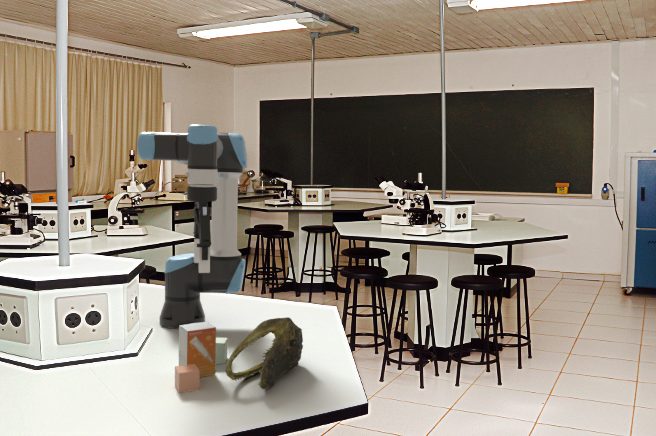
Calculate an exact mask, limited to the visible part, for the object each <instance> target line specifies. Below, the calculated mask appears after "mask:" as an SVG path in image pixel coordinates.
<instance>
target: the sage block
mask: <svg viewBox="0 0 656 436" xmlns="http://www.w3.org/2000/svg"><path fill="white" fill-rule="evenodd" d="M227 360H228V337H218V336H216V360H215V365H225V364H226V361H227Z"/></svg>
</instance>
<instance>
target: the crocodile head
mask: <svg viewBox="0 0 656 436" xmlns="http://www.w3.org/2000/svg"><path fill="white" fill-rule="evenodd" d="M270 333H271V334H273V335H274V338H273V339H272V340H271V346H270V347H268V349H266V350H265V351H266V352H264V353H263V356H261V357H262V358H263V359H261V362H259V363H258V364H256V365H253V366H252V367H251V368H249V369H246V370H244V371H239V372H234V371H233V369H232V368H233V367H232V366H233V362H234V361H235V359H236V358H238V356H239V355H240V354H241V353H242V352H243V351H244V350H245V349H246V348H247V347H249V346H250V345H252V344H254V343H255V342H256V341H257V340H259V339H262V338H264V337H266V336H267V335H269V334H270ZM303 342H304V339H303V329H302V328H300V327H299V326H298V325H296V324H295V322H294V321H293V320H292V318H291V317H276V318H275V317H274V318H269V319H266V320H264V321H261V323H259V324H258V325H257V326H256V327H255V328H254V329H253V330H252V331H251V332H249V333H248V334H247V335H246V336H245V337H244V338H243V339H242V340H241V341H240V343H239V344H238V345H237V346H236V347H235V349H234V350H233V351H232V353H231V354H230V356H229V358H228V359H227V363H226V366H225V374H226V376H227V377H228V378H230V380H232V381H235V382H237V380H241V379H245V378H249V377H251V376H255V375H256V374H258V373H260V376H259V382H258V383H257V385H258V386H259V387H260V388H261V389H263V390H268V389H270V388H271V387H273V385H275V383H276V382H277V380H278V379H279V378H280V377H281V376H283V374H285V373H287V372H289V371H290V370H291V368H292V369H293V368H296V367H298V365H299V362H300V361H301V359H302V351H303V348H304V345H303Z"/></svg>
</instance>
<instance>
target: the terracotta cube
mask: <svg viewBox="0 0 656 436" xmlns="http://www.w3.org/2000/svg"><path fill="white" fill-rule="evenodd" d="M174 387H175V389H176V390H177V392H178V393H186V392H193V391H198V390H199V391H200V377H199V369H198V368H197V366H196V365H195V364H190V365H182V366H179V365H176V366H174Z"/></svg>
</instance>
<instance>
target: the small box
mask: <svg viewBox="0 0 656 436" xmlns="http://www.w3.org/2000/svg"><path fill="white" fill-rule="evenodd" d="M216 337H217V327H216V326H215V325H213V324H212V323H210V322H209V321H205V322H201V323H192V324H186V325H179V328H178V366H182V365H190V364H195V365H196V366H197V368H198V369H199V378H203V377H209V376H213V375H215V374H216V364H215V360H216Z"/></svg>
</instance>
